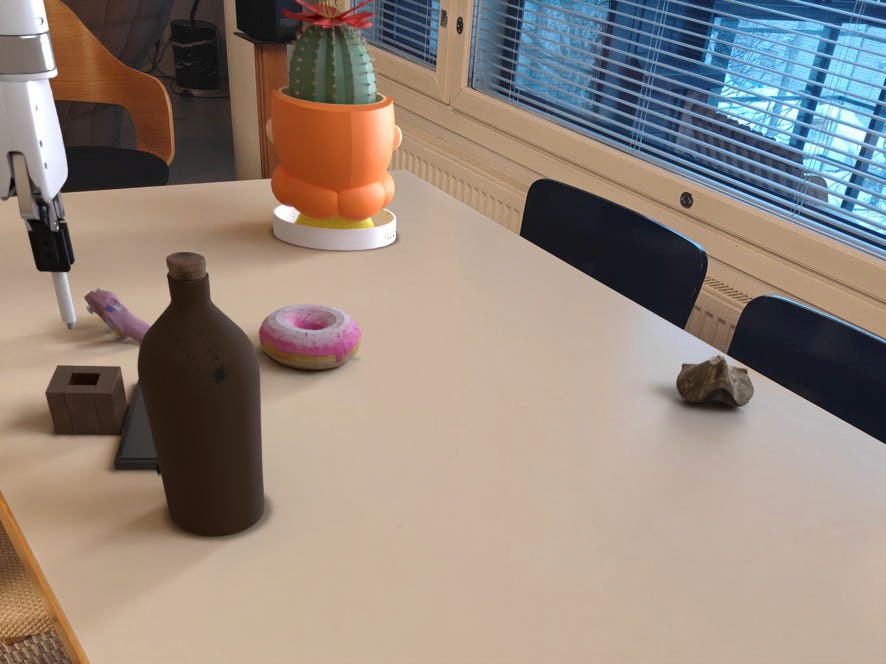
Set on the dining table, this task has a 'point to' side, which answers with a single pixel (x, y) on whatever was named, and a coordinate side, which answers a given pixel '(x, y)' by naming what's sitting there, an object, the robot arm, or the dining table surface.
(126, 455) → the tablet
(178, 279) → the rum bottle
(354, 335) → the donut
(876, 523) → the dining table surface
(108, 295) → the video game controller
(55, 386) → the pen holder
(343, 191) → the potted cactus
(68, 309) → the stylus
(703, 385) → the fossilized seashell
